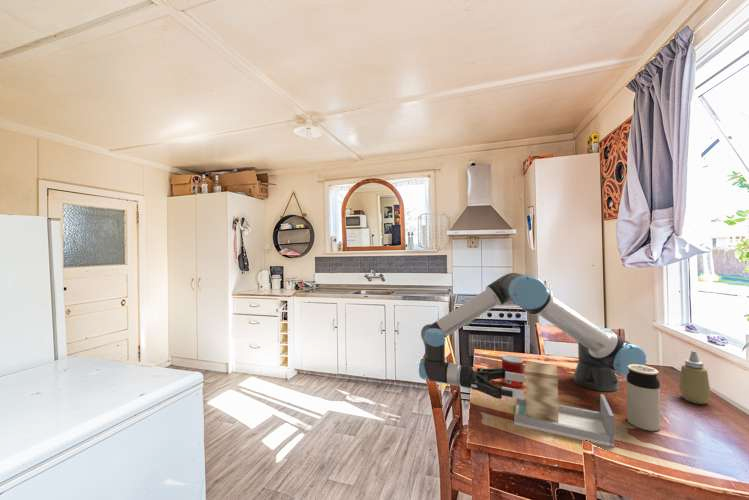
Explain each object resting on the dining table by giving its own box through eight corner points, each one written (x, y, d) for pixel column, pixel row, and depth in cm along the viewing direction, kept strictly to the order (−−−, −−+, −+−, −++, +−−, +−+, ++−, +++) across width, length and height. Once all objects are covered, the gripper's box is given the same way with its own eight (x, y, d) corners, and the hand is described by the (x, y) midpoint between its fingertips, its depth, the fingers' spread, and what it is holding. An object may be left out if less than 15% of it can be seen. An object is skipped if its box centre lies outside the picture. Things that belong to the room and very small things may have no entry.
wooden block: (557, 412, 104) (556, 365, 104) (559, 427, 96) (558, 376, 96) (526, 406, 109) (525, 361, 108) (525, 419, 100) (524, 371, 100)
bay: (604, 422, 100) (604, 394, 100) (614, 447, 88) (613, 415, 88) (516, 404, 112) (516, 380, 112) (514, 424, 100) (513, 397, 100)
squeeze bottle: (703, 397, 115) (702, 349, 114) (716, 408, 107) (715, 356, 107) (674, 393, 118) (674, 346, 118) (685, 403, 111) (684, 353, 111)
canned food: (525, 389, 124) (525, 362, 124) (504, 388, 126) (504, 361, 125) (520, 381, 131) (520, 355, 131) (500, 380, 133) (500, 354, 133)
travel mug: (663, 434, 93) (662, 375, 93) (629, 427, 97) (628, 370, 97) (656, 421, 100) (656, 366, 100) (625, 415, 104) (624, 362, 104)
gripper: (467, 373, 125) (525, 382, 115) (453, 400, 103) (523, 415, 93) (467, 354, 125) (525, 362, 115) (452, 378, 103) (523, 390, 93)
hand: (524, 386), depth 104 cm, fingers open, 13 cm apart
